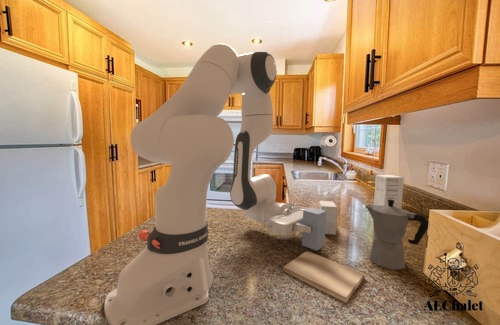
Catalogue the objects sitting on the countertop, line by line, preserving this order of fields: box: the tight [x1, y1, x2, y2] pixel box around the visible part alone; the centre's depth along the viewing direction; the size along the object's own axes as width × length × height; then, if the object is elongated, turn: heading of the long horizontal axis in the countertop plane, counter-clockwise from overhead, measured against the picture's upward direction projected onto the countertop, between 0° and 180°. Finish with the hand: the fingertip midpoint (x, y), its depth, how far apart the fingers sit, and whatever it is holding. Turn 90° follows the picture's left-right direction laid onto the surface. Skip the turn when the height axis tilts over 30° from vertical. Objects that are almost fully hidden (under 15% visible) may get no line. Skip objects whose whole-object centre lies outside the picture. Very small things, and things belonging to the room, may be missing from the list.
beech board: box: [282, 250, 365, 303], centre depth 56 cm, size 12×16×1 cm
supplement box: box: [373, 174, 405, 209], centre depth 115 cm, size 10×9×17 cm
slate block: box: [301, 207, 326, 252], centre depth 68 cm, size 5×5×11 cm
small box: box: [318, 200, 338, 236], centre depth 84 cm, size 8×6×10 cm
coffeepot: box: [365, 200, 430, 271], centre depth 61 cm, size 15×9×18 cm, turn 39°
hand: (316, 227), depth 67 cm, fingers closed on slate block, 5 cm apart
